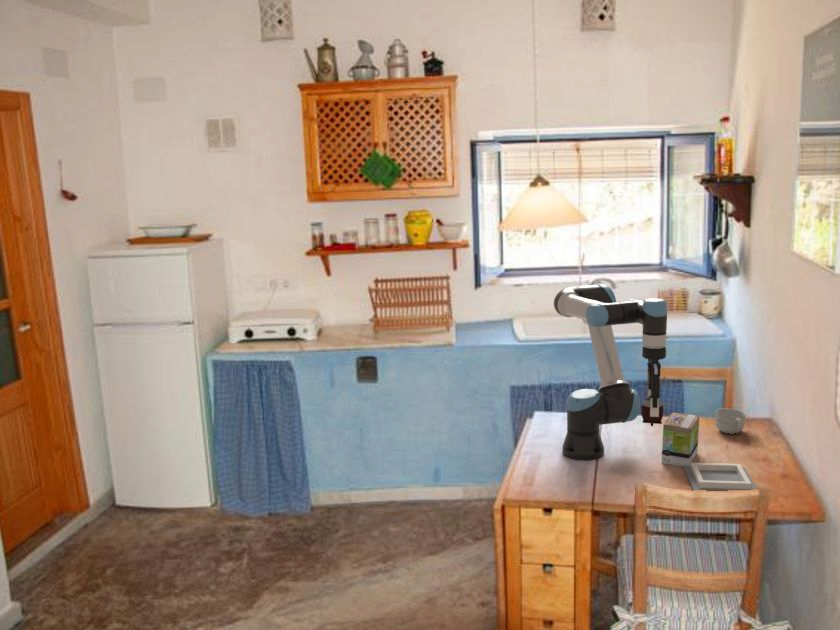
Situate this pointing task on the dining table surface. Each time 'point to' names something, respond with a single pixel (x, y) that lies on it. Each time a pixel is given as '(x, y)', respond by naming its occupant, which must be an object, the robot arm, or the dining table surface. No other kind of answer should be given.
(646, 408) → the mate gourd
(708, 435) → the dining table surface
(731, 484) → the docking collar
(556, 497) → the dining table surface
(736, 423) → the teacup
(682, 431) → the tea box
